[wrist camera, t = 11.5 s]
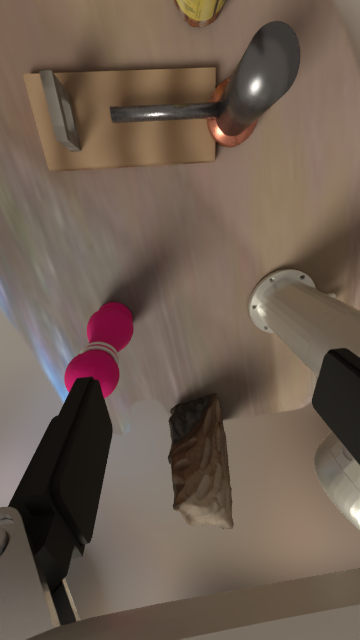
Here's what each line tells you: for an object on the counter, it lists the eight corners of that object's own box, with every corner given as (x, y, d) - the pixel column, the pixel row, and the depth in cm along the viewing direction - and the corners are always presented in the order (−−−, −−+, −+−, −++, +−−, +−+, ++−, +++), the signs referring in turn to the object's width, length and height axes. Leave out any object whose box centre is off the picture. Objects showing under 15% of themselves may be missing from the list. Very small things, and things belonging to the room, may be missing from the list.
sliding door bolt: (258, 80, 27) (318, 2, 17) (253, 146, 30) (303, 112, 20) (108, 86, 26) (78, 6, 16) (119, 153, 29) (99, 122, 19)
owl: (217, 429, 56) (246, 530, 39) (168, 435, 56) (174, 541, 38) (218, 392, 51) (252, 491, 33) (164, 399, 50) (168, 503, 32)
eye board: (213, 73, 27) (227, 38, 22) (213, 162, 31) (225, 151, 26) (28, 79, 26) (-7, 44, 20) (52, 171, 30) (29, 162, 24)
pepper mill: (95, 334, 41) (49, 428, 23) (93, 297, 38) (37, 374, 20) (135, 335, 42) (119, 427, 24) (135, 300, 39) (118, 375, 21)
